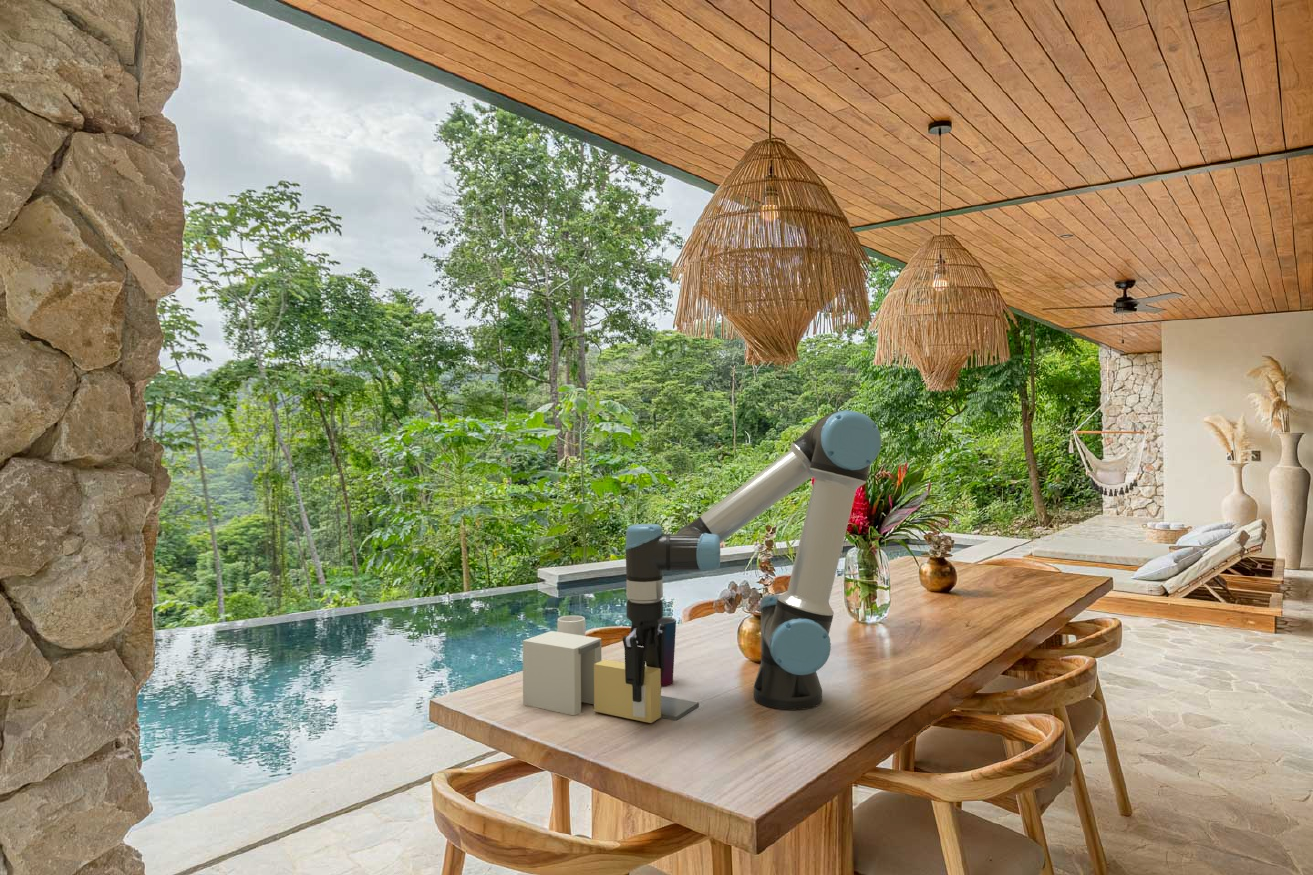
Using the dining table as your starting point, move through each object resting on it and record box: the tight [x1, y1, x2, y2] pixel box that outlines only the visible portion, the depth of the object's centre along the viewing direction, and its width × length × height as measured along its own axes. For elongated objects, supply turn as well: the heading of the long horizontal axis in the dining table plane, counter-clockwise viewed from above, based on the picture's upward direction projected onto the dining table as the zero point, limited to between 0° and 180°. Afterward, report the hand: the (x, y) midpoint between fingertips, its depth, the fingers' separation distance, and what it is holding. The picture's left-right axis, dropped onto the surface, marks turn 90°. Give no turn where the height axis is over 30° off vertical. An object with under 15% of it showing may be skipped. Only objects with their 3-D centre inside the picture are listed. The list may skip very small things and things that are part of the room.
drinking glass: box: [556, 615, 587, 636], centre depth 188 cm, size 7×7×15 cm
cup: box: [658, 616, 677, 687], centre depth 185 cm, size 7×7×15 cm
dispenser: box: [522, 630, 602, 717], centre depth 172 cm, size 15×10×14 cm
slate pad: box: [660, 695, 700, 721], centre depth 169 cm, size 16×10×1 cm, turn 59°
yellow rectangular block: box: [593, 659, 662, 724], centre depth 163 cm, size 14×4×10 cm, turn 59°
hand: (645, 712), depth 161 cm, fingers closed on yellow rectangular block, 4 cm apart
